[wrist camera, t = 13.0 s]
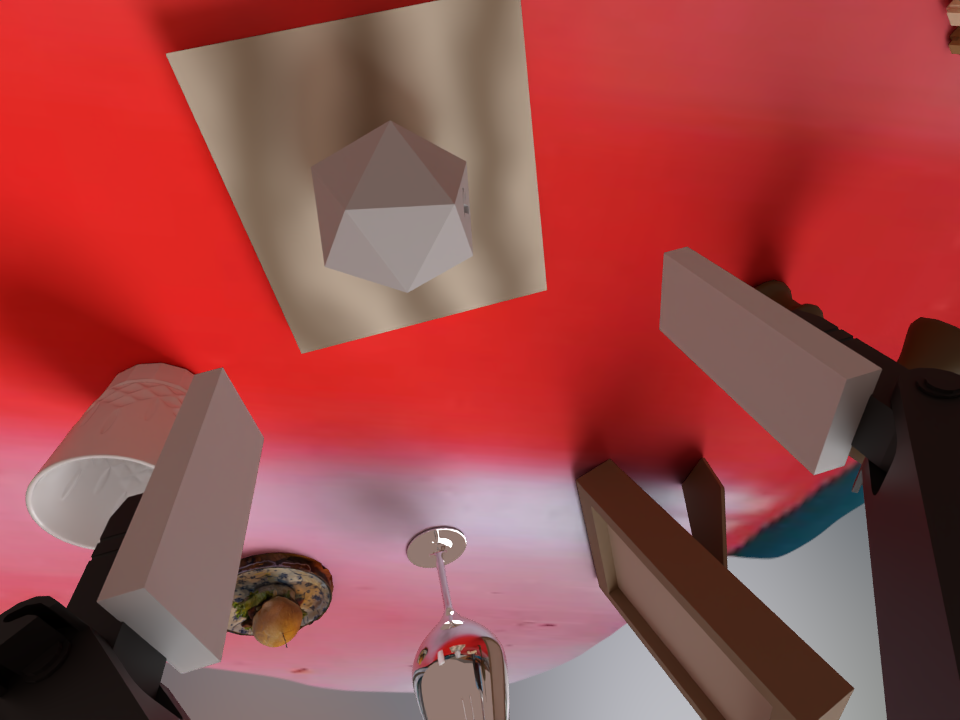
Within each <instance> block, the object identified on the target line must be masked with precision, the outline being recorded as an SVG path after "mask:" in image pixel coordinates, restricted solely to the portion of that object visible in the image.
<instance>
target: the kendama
mask: <svg viewBox="0 0 960 720" xmlns="http://www.w3.org/2000/svg"><path fill="white" fill-rule="evenodd" d="M754 289H756V290H757V291H759V292H760V293H762V294H764V295H765V296H767V297H768V298H770V299H772V300H773V301H775V302H776V303H778V304H780V305H781V306H783V307H784V308H786V309H788V310H789V311H792V310H796V309H799V310H802V311H805V312H808V313H811V314H814V315H817V316H820V317H822V318H823V312H822V311H821V310H820V308H819V307H818V306H816V305H812V304H803V305H801V304H799V303H797V302H796V301H794V300H793V299H792V295H791V290H790V289H789V288H788V287H787V285H786V284H785V283H783V282H780V281H776V280H772V281H768V282H765V283H762V284H760V285H759V286H757V287H756V288H754ZM897 363H899V364H901V365H902V366H904V367H906V368H907V369H909V370H910V369H915V368H936V369H941V370H946V371H951V372H953V373H956V374H958V375H960V329H959V328H957V327H955V326H953V325H950V324H948V323H945V322H942V321H940V320H936V319H930V318H923V317H920V318H918V319H917V320H915V321H914V322H913V323H911V325H910V327H909V329H908V332H907V335H906V338H905V342H904V345H903V349H902V352H901V354H900V357H899V359H898V361H897ZM849 456H850V457H852V458H853V459H855V460H856V461H858V462H859V463H861V464H862V463H863V461H864V459H865V456H864V455H863V454H862V453H860V452H859V451H858V450H857V449H855V448H854V447H853V446H852V447H851V450H850V452H849Z"/></svg>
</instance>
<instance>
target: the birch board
mask: <svg viewBox="0 0 960 720" xmlns="http://www.w3.org/2000/svg"><path fill="white" fill-rule="evenodd" d="M166 56H167V58H168V60H169V62H170V65H171V67H172V69H173V71H174V73H175V76H176V78H177V80H178V82H179V84H180V87H181V89H182V91H183V93H184V95H185V98H186V100H187V102H188V104H189V106H190V109H191V111H192V113H193V115H194V117H195V120H196V122H197V124H198V126H199V128H200V131H201V133H202V135H203V137H204V139H205V142H206V144H207V146H208V148H209V151H210V153H211V155H212V157H213V159H214V162H215V164H216V166H217V168H218V170H219V173H220V175H221V177H222V179H223V181H224V184H225V186H226V188H227V190H228V192H229V195H230V197H231V199H232V201H233V203H234V206H235V208H236V210H237V212H238V214H239V217H240V219H241V221H242V223H243V225H244V228H245V230H246V232H247V234H248V236H249V239H250V241H251V243H252V245H253V247H254V250H255V252H256V254H257V256H258V258H259V261H260V263H261V265H262V267H263V269H264V272H265V274H266V276H267V278H268V280H269V283H270V285H271V287H272V289H273V291H274V294H275V296H276V298H277V300H278V302H279V305H280V307H281V309H282V311H283V313H284V316H285V318H286V320H287V322H288V324H289V327H290V329H291V331H292V333H293V335H294V338H295V340H296V342H297V344H298V346H299V349H300V351H301V353H306V352H310V351H314V350H318V349H322V348H326V347H329V346H333V345H337V344H341V343H345V342H349V341H352V340H356V339H360V338H364V337H368V336H372V335H376V334H379V333H383V332H387V331H391V330H395V329H399V328H402V327H406V326H410V325H414V324H418V323H422V322H426V321H429V320H433V319H437V318H441V317H445V316H449V315H452V314H456V313H460V312H464V311H468V310H472V309H475V308H479V307H483V306H487V305H491V304H495V303H499V302H502V301H506V300H510V299H514V298H518V297H522V296H525V295H529V294H533V293H537V292H541V291H545V290H547V285H546V274H545V263H544V252H543V241H542V230H541V219H540V208H539V197H538V186H537V175H536V164H535V153H534V142H533V131H532V120H531V109H530V98H529V87H528V76H527V65H526V54H525V43H524V32H523V21H522V10H521V0H438V1H432V2H427V3H422V4H417V5H412V6H407V7H402V8H397V9H392V10H386V11H381V12H376V13H371V14H366V15H361V16H356V17H351V18H346V19H340V20H335V21H330V22H325V23H320V24H315V25H310V26H305V27H299V28H294V29H289V30H284V31H279V32H274V33H269V34H264V35H259V36H253V37H248V38H243V39H238V40H233V41H228V42H223V43H218V44H213V45H207V46H202V47H197V48H192V49H187V50H182V51H177V52H172V53H167V54H166ZM390 120H391V121H392V122H394V123H396V124H398V125H400V126H402V127H404V128H405V129H407V130H409V131H411V132H413V133H415V134H416V135H418V136H420V137H422V138H424V139H426V140H428V141H429V142H431V143H433V144H435V145H437V146H439V147H441V148H442V149H444V150H446V151H448V152H450V153H452V154H453V155H455V156H457V157H459V158H461V159H463V160H465V161H466V162H467V174H468V189H469V203H470V217H471V232H472V246H473V256H472V257H470V258H468V259H467V260H465V261H463V262H461V263H460V264H458V265H456V266H454V267H452V268H451V269H449V270H447V271H445V272H444V273H442V274H440V275H438V276H437V277H435V278H433V279H431V280H429V281H428V282H426V283H424V284H422V285H421V286H419V287H417V288H415V289H413V290H412V291H410V292H408V293H406V292H403V291H400V290H397V289H393V288H390V287H387V286H384V285H381V284H378V283H374V282H371V281H368V280H365V279H362V278H359V277H355V276H352V275H349V274H346V273H343V272H340V271H336V270H333V269H330V268H327V267H325V266H324V259H323V251H322V244H321V237H320V229H319V222H318V215H317V208H316V200H315V193H314V186H313V178H312V171H311V167H312V166H314V165H315V164H317V163H319V162H320V161H322V160H324V159H325V158H327V157H329V156H331V155H332V154H334V153H336V152H337V151H339V150H341V149H342V148H344V147H346V146H347V145H349V144H351V143H352V142H354V141H356V140H357V139H359V138H361V137H363V136H364V135H366V134H368V133H369V132H371V131H373V130H374V129H376V128H378V127H379V126H381V125H383V124H384V123H386V122H388V121H390Z"/></svg>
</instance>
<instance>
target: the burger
mask: <svg viewBox="0 0 960 720" xmlns="http://www.w3.org/2000/svg"><path fill="white" fill-rule="evenodd" d="M332 592H333V582H332V575H331V574H330V572H329V570H328V569H323V567H322V566H321V563H319V562H318V561H316V560H314V559H311V558H308V557H306V556H302V555H296V554H288V553H267V554H260V555H254V556H250V557H247V558H243V559H241V560H240V566H239V571H238V576H237V581H236V586H235V591H234V597H233V602H232V607H231V612H230V617H229V622H228V628H227V631H228V632H231V633H234V634H238V635H250V636H254V637H255V638H256V640H257V641H259V642H260V643H262V644H263V645H266V646H269V647H278V646H282V645H284V644H286V643H287V642H289V641H290V640H291V639H293V637H294V636H295V635H296V634H297V632H298V631H299V630H300V629H301V628H303V627H304V626H306V625H310V624H312V623H313V622H314V621H316V620H318V619H320V618H321V617H322V616H323V614H324V613H325V612H326V611H327V609H328V607H329V605H330V602H331V600H332ZM286 647H287V644H286Z"/></svg>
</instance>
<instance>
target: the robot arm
mask: <svg viewBox="0 0 960 720" xmlns="http://www.w3.org/2000/svg"><path fill="white" fill-rule="evenodd" d="M659 330H660V331H661V332H663V333H664V334H665V335H666V336H667V337H668V338H669V339H670V340H671V341H672V342H673V343H674V344H675V345H676V346H677V347H678V348H679V349H681V350H682V351H683V352H684V353H685V354H686V355H687V356H688V357H689V358H690V359H691V360H692V361H693V362H694V363H695V364H696V365H697V366H699V367H700V368H701V369H702V370H703V371H704V372H705V373H706V374H707V375H708V376H709V377H710V378H711V379H712V380H713V381H714V382H716V383H717V384H718V385H719V386H720V387H721V388H722V389H723V390H724V391H725V392H726V393H727V394H728V395H729V396H730V397H731V398H732V399H734V400H735V401H736V402H737V403H738V404H739V405H740V406H741V407H742V408H743V409H744V410H745V411H746V412H747V413H748V414H749V415H750V416H752V417H753V418H754V419H755V420H756V421H757V422H758V423H759V424H760V425H761V426H762V427H763V428H764V429H765V430H766V431H767V432H768V433H770V434H771V435H772V436H773V437H774V438H775V439H776V440H777V441H778V442H779V443H780V444H781V445H782V446H783V447H784V448H785V449H786V450H788V451H789V452H790V453H791V454H792V455H793V456H794V457H795V458H796V459H797V460H798V461H799V462H800V463H801V464H802V465H803V466H805V467H806V468H807V469H808V470H809V471H810V472H811V473H812V474H813V475H816V474H819V473H822V472H825V471H829V470H832V469H835V468H838V467H841V466H844V465H845V463H846V460H847V457H848V455H849V452H850V450H851V447H852V446H853V447H854V448H855V449H857V450H858V451H859V452H860V453H862V454H863V455H864V456H865V459H864V461H863V463H862V466H861V468H860V470H859V473H858V475H857V477H856V480H855V482H854V485H853V489H852V492H856V493H858V491H859V489H860V487H861V485H863V490H864V499H865V509H866V518H867V529H868V538H869V547H870V558H871V568H872V577H873V587H874V597H875V606H876V616H877V625H878V635H879V644H880V655H881V665H882V674H883V684H884V694H885V703H886V713H887V720H960V375H958V374H956V373H953V372H951V371H946V370H941V369H936V368H915V369H910V370H909V369H907V368H906V367H904V366H902V365H901V364H899V363H897V362H895V361H894V360H892V359H890V358H889V357H887V356H885V355H884V354H882V353H880V352H879V351H877V350H875V349H874V348H872V347H870V346H869V345H867V344H865V343H864V342H862V341H860V340H859V339H857V338H856V339H854V338H853V336H852V335H850V334H849V333H847V332H845V331H844V330H842V329H841V330H839V329H838V327H837V326H835V325H834V324H832V323H830V322H829V321H827V320H825V319H824V318H822V317H820V316H817V315H814V314H811V313H808V312H805V311H802V310H799V309H796V310H792V311H789V310H788V309H786V308H784V307H783V306H781V305H780V304H778V303H776V302H775V301H773V300H772V299H770V298H768V297H767V296H765V295H764V294H762V293H760V292H759V291H757V290H756V289H754V288H752V287H751V286H749V285H748V284H746V283H745V282H743V281H741V280H740V279H738V278H737V277H735V276H733V275H732V274H730V273H729V272H727V271H725V270H724V269H722V268H721V267H719V266H717V265H716V264H714V263H713V262H711V261H709V260H708V259H706V258H705V257H703V256H701V255H700V254H698V253H697V252H695V251H693V250H692V249H690V248H689V247H684V248H681V249H677V250H673V251H669V252H665V253H664V260H663V277H662V294H661V311H660V328H659ZM263 442H264V437H263V435H262V434H261V432H260V430H259V429H258V427H257V425H256V423H255V422H254V420H253V418H252V417H251V415H250V413H249V411H248V410H247V408H246V406H245V405H244V403H243V401H242V400H241V398H240V396H239V394H238V393H237V391H236V389H235V388H234V386H233V384H232V382H231V381H230V379H229V377H228V376H227V374H226V372H225V370H224V369H223V367H222V368H219V369H215V370H211V371H207V372H203V373H199V374H195V375H194V377H193V379H192V382H191V384H190V386H189V389H188V391H187V393H186V396H185V398H184V400H183V403H182V405H181V407H180V410H179V412H178V414H177V416H176V419H175V421H174V423H173V426H172V428H171V430H170V433H169V435H168V437H167V440H166V442H165V444H164V447H163V449H162V451H161V454H160V456H159V458H158V460H157V463H156V465H155V467H154V470H153V472H152V474H151V477H150V479H149V481H148V484H147V486H146V488H145V491H144V493H141V494H137V495H134V496H130V497H128V498H127V499H126V500H125V501H124V502H123V503H122V504H121V506H120V507H119V508H118V509H117V510H116V511H115V513H114V514H113V515H112V516H111V517H110V518H109V520H108V523H107V525H106V527H105V529H104V531H103V533H102V535H101V537H100V543H97V546H96V548H95V550H94V552H93V554H92V556H91V557H92V560H91V561H89V562H88V564H87V566H86V569H85V571H84V573H83V575H82V577H81V579H80V581H79V583H78V585H77V587H76V589H75V591H74V594H73V596H72V598H71V600H70V602H69V604H68V606H67V608H65V607H64V606H63V605H62V604H60V603H59V602H58V601H56V600H55V599H53V598H52V597H50V596H38V597H34V598H31V599H28V600H26V601H23V602H20V603H18V604H17V605H15V606H13V607H12V608H10V609H9V610H7V611H5V612H4V613H2V614H1V615H0V720H190V718H189V717H188V716H187V714H186V713H185V711H184V710H183V708H182V707H181V706H180V704H179V703H178V701H177V700H176V699H175V697H174V696H173V694H172V693H171V692H170V690H169V689H168V688H167V687H166V686H164V685H163V684H162V683H161V682H160V681H161V677H162V674H163V670H164V667H165V663H166V661H167V662H168V663H169V664H171V665H172V666H173V667H174V668H175V669H177V670H178V671H179V672H180V673H181V674H183V673H186V672H189V671H193V670H196V669H199V668H202V667H206V666H209V665H212V664H215V663H218V662H221V659H222V654H223V648H224V643H225V638H226V633H227V628H228V622H229V617H230V612H231V607H232V602H233V597H234V591H235V586H236V581H237V576H238V571H239V566H240V560H241V555H242V550H243V545H244V540H245V535H246V529H247V524H248V519H249V514H250V509H251V504H252V498H253V493H254V488H255V483H256V478H257V473H258V467H259V462H260V457H261V452H262V447H263Z"/></svg>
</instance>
